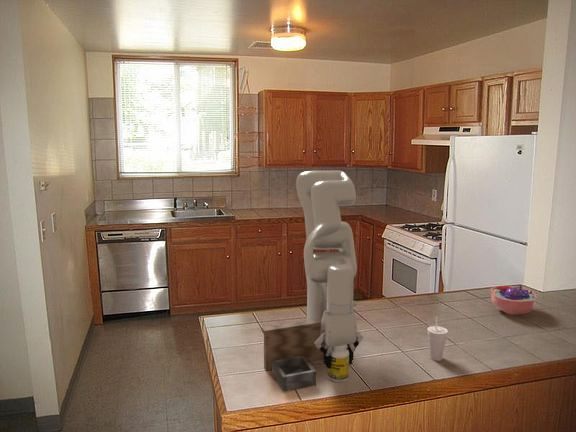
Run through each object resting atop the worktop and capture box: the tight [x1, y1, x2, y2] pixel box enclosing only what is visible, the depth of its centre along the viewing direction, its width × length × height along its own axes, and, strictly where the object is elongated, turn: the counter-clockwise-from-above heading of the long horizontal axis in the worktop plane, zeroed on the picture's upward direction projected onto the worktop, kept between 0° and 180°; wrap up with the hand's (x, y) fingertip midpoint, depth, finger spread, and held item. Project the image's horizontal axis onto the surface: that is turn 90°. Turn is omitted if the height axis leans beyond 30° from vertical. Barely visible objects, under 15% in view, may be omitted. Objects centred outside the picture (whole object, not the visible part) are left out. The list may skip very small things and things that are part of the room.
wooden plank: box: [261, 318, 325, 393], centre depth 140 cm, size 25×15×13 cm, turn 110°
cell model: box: [490, 285, 538, 316], centre depth 188 cm, size 17×20×11 cm
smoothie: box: [426, 316, 449, 362], centre depth 149 cm, size 6×6×14 cm
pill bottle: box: [327, 344, 350, 383], centre depth 138 cm, size 6×6×11 cm
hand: (338, 364), depth 138 cm, fingers closed on pill bottle, 6 cm apart
